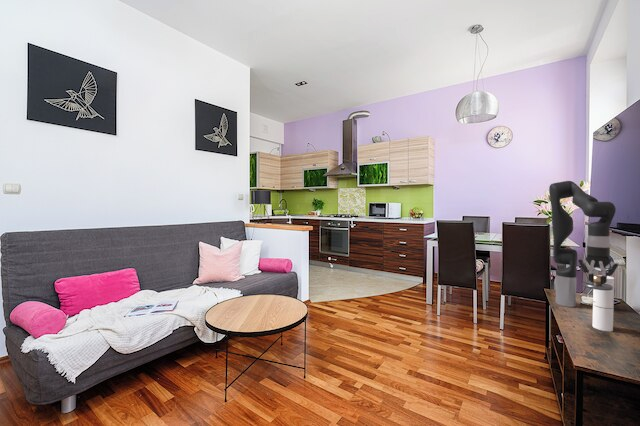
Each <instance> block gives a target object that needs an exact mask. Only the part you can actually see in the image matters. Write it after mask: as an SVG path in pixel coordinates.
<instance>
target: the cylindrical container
mask: <svg viewBox="0 0 640 426" xmlns="http://www.w3.org/2000/svg"><path fill="white" fill-rule="evenodd" d="M598 275H599V276H602V274H598ZM605 284H609V285H611V286H613V290H596V289H592V291H593V292H592V294H593V295H592V324H591V325H592V327H593V328H594V329H596V330H599V331H602V332H613V331H614V307H615V306H614V305H615V304H614V303H615V301H614V298H615V292H614V291H615V277H614V276H607V282H606V283H605Z"/></svg>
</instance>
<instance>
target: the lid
mask: <svg viewBox="0 0 640 426" xmlns="http://www.w3.org/2000/svg"><path fill="white" fill-rule="evenodd" d="M599 275H600V274H594V275H593V283H592V282H590V281H582V286H583V287H585V288H588V289H592V290H593V289H596V290H613V286H611V285H609V284H601V280H602V276H599Z"/></svg>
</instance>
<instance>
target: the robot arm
mask: <svg viewBox="0 0 640 426" xmlns="http://www.w3.org/2000/svg"><path fill="white" fill-rule="evenodd" d="M548 191H549V192H548V193H549V199H550V200H549V201H550V205H551V224H552V225H551V226H552V228H551V229H552V235H553V236H552V239H553V246H552V247H553V248H552V249H553V252H552V253H553V254H552V256H553V262H554V263H555V264H559V265H560V264H561V265H567V266H568V265H569V266H568V267H564V268H559V269H556V272H555V304H557V305H558V306H562V307H568V308H574V307H576V306H577V266H578V264H580V265H579V266H580V267H581V269H582V271H583V272H584V273H587V274H588V282H592V283H593V275H595V274H594V271H595V269H596V268H598V269H600V271H601V275H602V280H601V284H605V283H606V282H607V276H610V277H612V276H613V274H614V273H615V271H616V270H617V269H618V267H619V265H620V263H618V262H615V261H612V259H611V258H610V257H611V240H610V229H611V228H610V227H611V224H612V221H613V219H614V217H615V214H616V211H617V210H616V206H615V203H613V202H612V201H599V200H598V199H597V198H595V196H592V195H590V194H588V193H586V192H585V191H584V190H583V189H582V188H581V187H580V186H579V185H578V184H576V183H575V182H574V181H572V180H565V181H560V182H559V181H558V182H553V183H550V184H549V187H548ZM571 197H572V203H573V204H574V205H575V206H577V208H579V209H581V211H582V212H583V214H584V215H585V216H586V217H588V218H599V219H598V221H594V222H590V223H588V228H587V239H586V240H587V241H586V257H585V258H580V259H578V251H577V250H576V249H574V248H573V249H571V248H561V247H562V244H563V243H564V241H566V239H568V238H569V236H570V235H571V234H572V233H573V231H574V220H573V217H572V216H571V214H569V213H568V212H567V211H566V210H565V209H564V207H563V206H562V204H561V199H569V198H571ZM586 263H588V264H589V268H588V267H587V265H586ZM609 265H610V268H611V269H610V270H609V272H607V267H608V266H609Z"/></svg>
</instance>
